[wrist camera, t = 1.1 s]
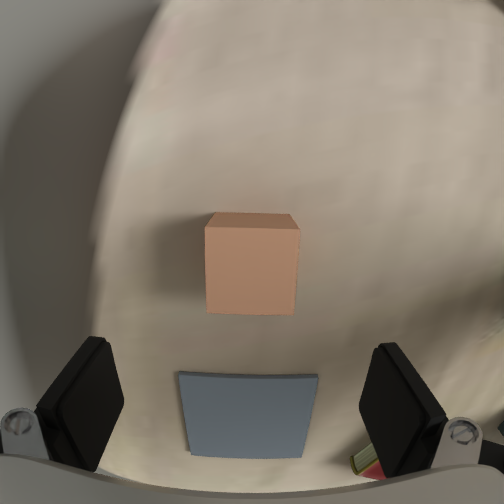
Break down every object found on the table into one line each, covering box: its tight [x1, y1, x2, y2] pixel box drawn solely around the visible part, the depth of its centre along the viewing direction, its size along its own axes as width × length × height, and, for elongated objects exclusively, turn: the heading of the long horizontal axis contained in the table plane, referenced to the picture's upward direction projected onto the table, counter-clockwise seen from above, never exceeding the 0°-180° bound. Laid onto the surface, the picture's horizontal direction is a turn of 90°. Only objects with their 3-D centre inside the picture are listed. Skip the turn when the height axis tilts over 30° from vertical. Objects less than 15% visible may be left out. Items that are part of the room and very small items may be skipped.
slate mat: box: [178, 371, 318, 459], centre depth 31 cm, size 14×14×1 cm
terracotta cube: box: [205, 212, 300, 315], centre depth 23 cm, size 6×6×6 cm
